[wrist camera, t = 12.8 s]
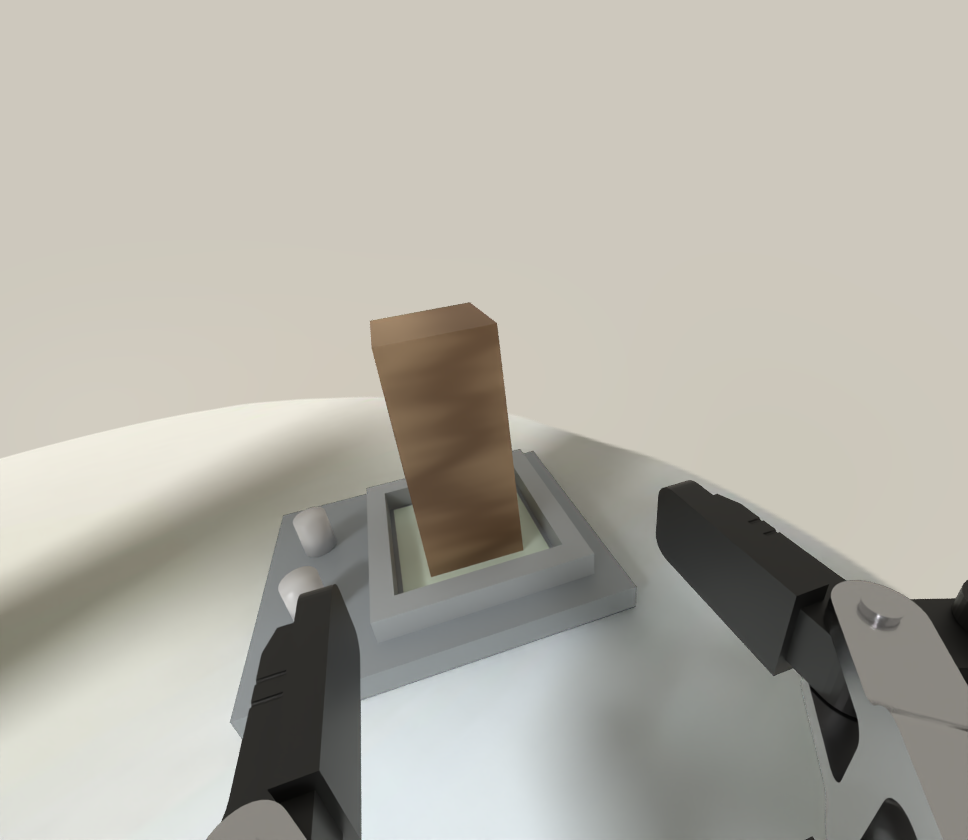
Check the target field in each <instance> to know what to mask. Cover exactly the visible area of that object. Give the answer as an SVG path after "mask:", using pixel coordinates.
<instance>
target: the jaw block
mask: <svg viewBox="0 0 968 840" xmlns="http://www.w3.org/2000/svg"><path fill="white" fill-rule="evenodd" d="M370 328H371V345H372V351H373V354H374V359H375V363H376V366H377V370H378V374H379V378H380V382H381V386H382V390H383V393H384V397H385V401H386V405H387V409H388V413H389V417H390V420H391V424H392V428H393V432H394V436H395V440H396V444H397V447H398V451H399V455H400V459H401V463H402V467H403V471H404V475H405V478H406V482H407V486H408V490H409V494H410V498H411V502H412V505H413V509H414V513H415V517H416V521H417V525H418V529H419V532H420V536H421V540H422V544H423V548H424V552H425V556H426V559H427V563H428V567H429V571H430V575H431V577H434V576H437V575H441V574H444V573H448V572H451V571H455V570H458V569H461V568H465V567H468V566H472V565H475V564H478V563H482V562H485V561H489V560H492V559H495V558H499V557H502V556H506V555H509V554H513V553H516V552H519V551H523V542H522V533H521V525H520V516H519V508H518V499H517V491H516V482H515V473H514V465H513V456H512V448H511V439H510V431H509V422H508V413H507V406H506V396H505V388H504V380H503V372H502V362H501V354H500V345H499V336H498V328H497V323H496V322H495V321H493V320H492V319H490V318H489V317H488V316H487V315H485V314H484V313H483V312H482V311H480V310H479V309H478V308H476V307H475V306H474V305H472V304H471V303H464V304H458V305H453V306H448V307H442V308H437V309H432V310H426V311H420V312H415V313H410V314H405V315H399V316H394V317H388V318H383V319H378V320H373V321H370Z"/></svg>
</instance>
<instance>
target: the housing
mask: <svg viewBox="0 0 968 840" xmlns="http://www.w3.org/2000/svg"><path fill="white" fill-rule="evenodd" d="M512 456H513V465H514V473H515V482H516V491H517V499H518V508H519V516H520V525H521V533H522V542H523V551H519V552H516V553H513V554H509V555H506V556H502V557H499V558H495V559H492V560H489V561H485V562H482V563H478V564H475V565H472V566H468V567H465V568H461V569H458V570H455V571H451V572H448V573H444V574H441V575H437V576H434V577H431V575H430V571H429V567H428V563H427V559H426V556H425V552H424V548H423V544H422V540H421V536H420V532H419V529H418V525H417V521H416V517H415V513H414V509H413V505H412V502H411V498H410V494H409V490H408V486H407V482H406V478H405V479H401V480H397V481H393V482H389V483H385V484H381V485H377V486H373V487H369V488H367V494H365V495H361V496H357V497H353V498H349V499H345V500H341V501H337V502H334V503H330V504H326V505H322V506H318V507H311V508H308V509H305V510H303V511H299V512H295V513H291V514H287V515H283V519H282V523H281V526H280V530H279V534H278V538H277V542H276V546H275V550H274V554H273V557H272V561H271V565H270V569H269V573H268V577H267V581H266V585H265V588H264V592H263V596H262V600H261V604H260V608H259V612H258V615H257V619H256V623H255V627H254V631H253V635H252V639H251V643H250V646H249V650H248V654H247V658H246V662H245V666H244V670H243V674H242V677H241V681H240V685H239V689H238V693H237V697H236V701H235V704H234V708H233V712H232V716H231V720H230V723H231V724H232V726H233V727H234V729H235V730H236V731H237V733H238V734H239V736H240V737H241V738H242V739H243V734H244V730H245V726H246V721H247V717H248V712H249V708H251V699H252V694H253V690H254V685H256V676H257V672H258V667H259V663H260V658H261V654H262V652H263V650H264V648H265V647H266V645H267V644H268V642H269V640H270V639H271V637H272V635H273V634H274V632H275V630H276V629H277V628H278V627H281V626H284V625H287V624H291V623H294V618H295V612H296V606H297V600H298V597H299V595H300V594H302V593H306V592H309V591H312V590H316V589H319V588H323V587H326V586H329V585H333V584H336V585H337V586H338V588H339V590H340V592H341V595H342V597H343V600H344V602H345V605H346V607H347V610H348V612H349V615H350V617H351V620H352V622H353V624H354V627H355V630H356V633H357V637H358V642H359V649H360V691H361V700H363V699H366V698H369V697H372V696H375V695H378V694H381V693H384V692H387V691H390V690H392V689H395V688H398V687H401V686H404V685H407V684H410V683H413V682H416V681H419V680H422V679H425V678H428V677H430V676H433V675H436V674H439V673H442V672H445V671H448V670H451V669H454V668H457V667H460V666H463V665H466V664H468V663H471V662H474V661H477V660H480V659H483V658H486V657H489V656H492V655H495V654H498V653H501V652H504V651H506V650H509V649H512V648H515V647H518V646H521V645H524V644H527V643H530V642H533V641H536V640H539V639H542V638H544V637H547V636H550V635H553V634H556V633H559V632H562V631H565V630H568V629H571V628H574V627H577V626H580V625H582V624H585V623H588V622H591V621H594V620H597V619H600V618H603V617H606V616H609V615H612V614H615V613H618V612H620V611H623V610H626V609H629V608H632V607H635V605H636V586H635V584H634V583H633V582H632V580H631V579H630V578H629V576H628V575H627V574H626V572H625V571H624V570H623V569H622V567H621V566H620V565H619V563H618V562H617V561H616V559H615V558H614V557H613V555H612V554H611V553H610V551H609V550H608V549H607V547H606V546H605V545H604V544H603V542H602V541H601V540H600V538H599V537H598V536H597V534H596V533H595V532H594V530H593V529H592V528H591V526H590V525H589V524H588V522H587V521H586V520H585V518H584V517H583V516H582V515H581V513H580V512H579V511H578V509H577V508H576V507H575V505H574V504H573V503H572V501H571V500H570V499H569V497H568V496H567V495H566V493H565V492H564V491H563V490H562V488H561V487H560V486H559V484H558V483H557V482H556V480H555V479H554V478H553V476H552V475H551V474H550V472H549V471H548V470H547V468H546V467H545V466H544V465H543V463H542V462H541V461H540V459H539V458H538V457H537V455H536V454H535V453H534V451H531V452H527V453H523V452H522V451H521V449H518V450H514V451H512Z"/></svg>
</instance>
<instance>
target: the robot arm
mask: <svg viewBox="0 0 968 840" xmlns="http://www.w3.org/2000/svg"><path fill="white" fill-rule="evenodd" d="M656 539H657V543H658V546H659V549H660V551H661V552H662V554H663V556H664V557H665V558H666V560H667V561H668V562H669V563H670V564H671V565H672V566H673V567H674V568H675V569H676V570H677V572H678V573H679V574H680V575H681V576H682V577H683V578H684V579H685V580H686V581H687V582H688V584H689V585H690V586H691V587H692V588H693V589H694V590H695V591H696V592H697V593H698V594H699V595H700V597H701V598H702V599H703V600H704V601H705V602H706V603H707V604H708V605H709V606H710V607H711V609H712V610H713V611H714V612H715V613H716V614H717V615H718V616H719V617H720V618H721V619H722V620H723V622H724V623H725V624H726V625H727V626H728V627H729V628H730V629H731V630H732V631H733V632H734V634H735V635H736V636H737V637H738V638H739V639H740V640H741V641H742V642H743V643H744V644H745V645H746V647H747V648H748V649H749V650H750V651H751V652H752V653H753V654H754V655H755V656H756V657H757V659H758V660H759V661H760V662H761V663H762V664H763V665H764V666H765V667H766V668H767V669H768V670H769V672H770V673H771V674H772V675H773V676H775V675H777V674H780V673H782V672H785V671H787V670H790V669H792V668H794V669H795V670H796V671H797V672H798V673H799V674H800V675H801V676H802V680H801V690H802V694H803V698H804V703H805V707H806V711H807V715H808V719H809V724H810V728H811V732H812V736H813V740H814V745H815V749H816V753H817V757H818V761H819V766H820V770H821V774H822V778H823V782H824V788H825V795H826V811H825V828H826V839H827V840H968V580H967V581H966V582H965V583H964V584H963V586H962V588H961V590H960V592H959V593H958V595H957V597H956V598H954V599H909V598H907V597H905V596H904V595H902V594H900V593H899V592H896V591H894V590H892V589H890V588H888V587H885V586H882V585H879V584H876V583H872V582H867V581H859V580H850V581H846V580H845V579H843V578H842V577H840V576H839V575H837V574H836V573H835V572H833V571H832V570H830V569H829V568H828V567H826V566H825V565H824V564H822V563H821V562H820V561H818V560H817V559H815V558H814V557H813V556H811V555H810V554H809V553H807V552H806V551H804V550H803V549H802V548H800V547H799V546H798V545H796V544H795V543H794V542H792V541H791V540H789V539H788V538H787V537H785V536H784V535H783V534H781V533H780V532H779V533H777V532H776V530H775V529H774V528H773V527H772V526H770V525H769V524H768V523H766V522H765V521H761V520H760V518H759V517H758V516H757V515H755V514H754V513H752V512H751V511H750V510H748V509H747V508H746V507H744V506H743V505H742V504H740V503H738V502H735V501H733V500H730V499H728V498H726V497H723V496H721V495H718V494H715V495H712V494H711V493H709V492H708V491H707V490H706V489H704V488H703V487H702V486H700V485H699V484H698V483H696V482H694V481H691V480H688V481H685V482H681V483H678V484H675V485H671V486H668V487H665V488H662V489H661V490H660V491H659V495H658V510H657V525H656ZM206 840H361V691H360V649H359V642H358V637H357V633H356V630H355V627H354V624H353V622H352V620H351V617H350V615H349V612H348V610H347V607H346V605H345V602H344V600H343V597H342V595H341V592H340V590H339V588H338V586H337V585H336V584H333V585H329V586H326V587H323V588H319V589H316V590H312V591H309V592H306V593H302V594H300V595H299V597H298V600H297V606H296V612H295V618H294V623H291V624H287V625H284V626H281V627H278V628H277V629H276V630H275V632H274V634H273V635H272V637H271V639H270V640H269V642H268V644H267V645H266V647H265V648H264V650H263V652H262V654H261V658H260V663H259V667H258V672H257V676H256V685H254V690H253V694H252V699H251V708H249V712H248V717H247V721H246V726H245V730H244V734H243V739H242V743H241V748H240V752H239V757H238V761H237V766H236V770H235V775H234V779H233V784H232V788H231V793H230V797H229V801H228V805H227V808H226V811H225V814H224V816H223V819H222V821H221V823H220V824H219V825H218V826H217V827H216V828H215V829H214V830H213V832H212V833H211V834H210V835H209V836H208V838H207V839H206ZM806 840H815V839H814V838H813V837H810V838H808V839H806Z"/></svg>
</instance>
